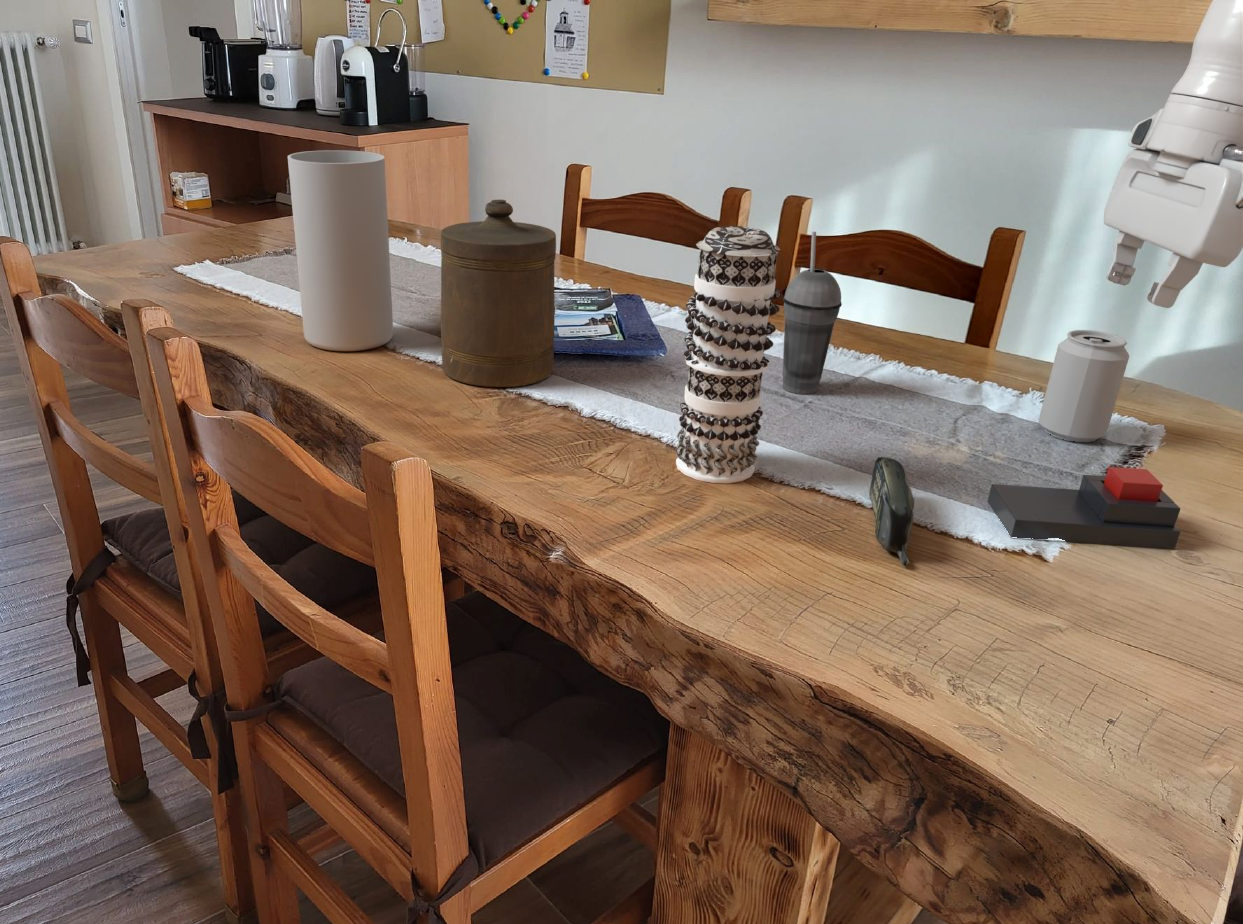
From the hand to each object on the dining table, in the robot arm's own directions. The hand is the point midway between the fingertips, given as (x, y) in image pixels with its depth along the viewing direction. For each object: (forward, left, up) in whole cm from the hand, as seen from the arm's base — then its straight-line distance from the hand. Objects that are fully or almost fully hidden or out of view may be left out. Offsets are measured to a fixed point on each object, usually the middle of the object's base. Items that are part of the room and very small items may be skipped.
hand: (1136, 293), depth 93 cm
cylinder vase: (+88, -38, -22) cm, 98 cm away
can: (-6, -19, -22) cm, 29 cm away
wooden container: (+65, -29, -22) cm, 74 cm away
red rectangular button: (-2, +6, -18) cm, 19 cm away
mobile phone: (+21, +10, -22) cm, 32 cm away
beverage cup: (+25, -29, -22) cm, 44 cm away
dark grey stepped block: (+2, +6, -21) cm, 22 cm away
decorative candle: (+37, -2, -22) cm, 43 cm away
